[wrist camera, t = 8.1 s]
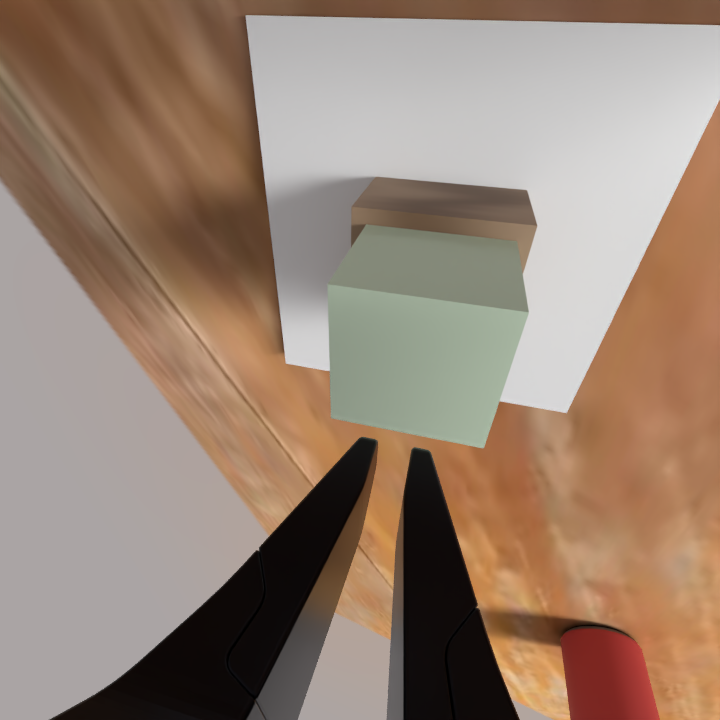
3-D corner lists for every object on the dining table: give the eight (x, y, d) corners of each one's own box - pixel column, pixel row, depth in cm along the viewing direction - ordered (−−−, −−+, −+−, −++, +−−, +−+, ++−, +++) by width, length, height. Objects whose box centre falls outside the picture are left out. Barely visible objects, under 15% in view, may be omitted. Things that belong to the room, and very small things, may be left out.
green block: (517, 241, 13) (529, 312, 10) (483, 362, 16) (483, 448, 13) (366, 224, 14) (327, 284, 10) (362, 342, 17) (331, 418, 14)
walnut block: (527, 190, 16) (537, 225, 13) (492, 320, 19) (493, 372, 16) (375, 176, 17) (351, 206, 14) (370, 303, 20) (349, 349, 17)
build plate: (738, 27, 12) (755, 25, 12) (563, 400, 22) (566, 412, 22) (257, 16, 15) (245, 15, 14) (291, 353, 25) (285, 363, 24)
